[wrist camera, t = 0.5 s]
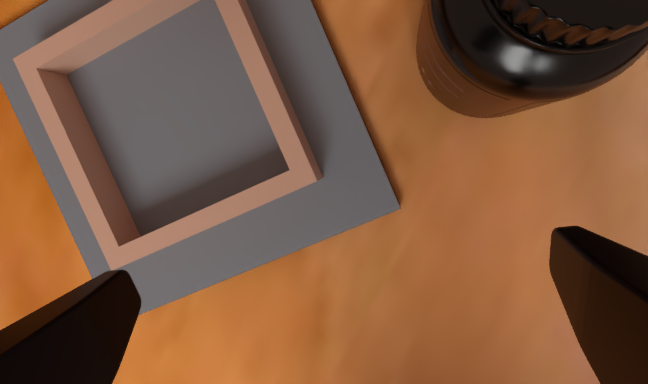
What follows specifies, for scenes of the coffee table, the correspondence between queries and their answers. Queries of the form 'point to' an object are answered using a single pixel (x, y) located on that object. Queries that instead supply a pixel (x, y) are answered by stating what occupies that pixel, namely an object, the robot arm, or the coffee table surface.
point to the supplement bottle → (525, 50)
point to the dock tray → (191, 134)
